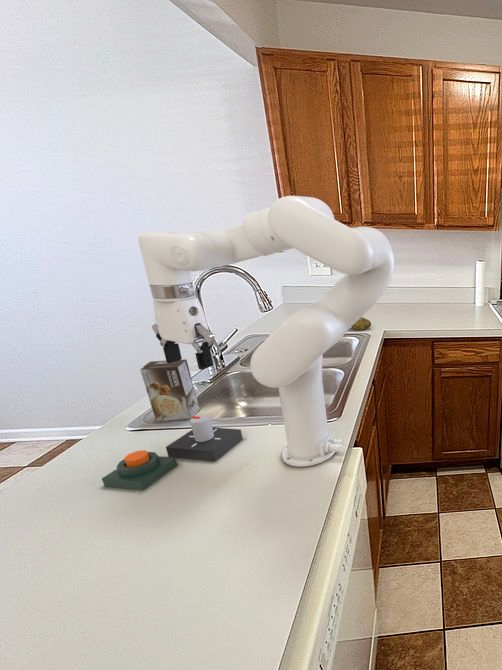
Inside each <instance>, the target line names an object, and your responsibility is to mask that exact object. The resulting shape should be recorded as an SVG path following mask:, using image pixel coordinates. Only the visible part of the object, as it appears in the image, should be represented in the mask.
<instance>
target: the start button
mask: <svg viewBox="0 0 502 670" xmlns="http://www.w3.org/2000/svg"><path fill="white" fill-rule="evenodd" d="M148 452H149V451H147V450H143V449H142V450H136V451H132V452H130V453H128V454H127V455H126V456H124V458H123V460H125V463H126V466H127V467H135V466H139V465H142V464H144V463H146V462H148V461H149V460H150V458H149V455H148Z"/></svg>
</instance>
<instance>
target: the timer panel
mask: <svg viewBox="0 0 502 670" xmlns="http://www.w3.org/2000/svg"><path fill="white" fill-rule="evenodd" d="M212 428H213V432H214V437H213V438H212V439H210V440H208V441H204V442H197V441H195V438H194V434H193V430H192V429H191V430H189V431H188V432H186V433H185V434H184V435H181V436H180V437H179V438H177V439H176V440H174V441H173V442H171V443H170V444H168V445H167V446H165V449H166V453H167V457H173V458H175V459H180V460H181V459H182V460H192V461H194V460H195V461H202V462H203V461H204V462H213V463H214V462H217V461H218V460H219V459H221V458H222V457H223V456H225V455H226V454H227V453H228V452H229V451H230V450H232V449H233V448H235V446H237V445H238V444H239V443H240V442H242V441H243V433H242V429H238V428H237V429H236V428H227V427H216V426H215V427H214V426H212Z"/></svg>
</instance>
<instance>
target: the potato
mask: <svg viewBox="0 0 502 670" xmlns="http://www.w3.org/2000/svg"><path fill="white" fill-rule="evenodd" d="M371 326H372V321H370V320H369V319H368V318H365V317H363V316H362V317H361V318H360V319H359V320H358V321H357V322H356V323H355V324H354V325H353V326H352V327H351V328H350V329H353V330H357V331H362V330H368V329H369V328H371Z"/></svg>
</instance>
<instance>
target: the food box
mask: <svg viewBox="0 0 502 670" xmlns="http://www.w3.org/2000/svg"><path fill="white" fill-rule="evenodd" d="M139 371H140V374H141V377H142V380H143V383H144V387H145V390H146V393H147V396H148V399H149V402H150V406H151V409H152V413H153V415H154V419H155V422H156V423H158V422H159V423H160V422H161V423H162V422H168V421H169V422H171V421H180V420H190V419H191V417H192V416H197V414H198V412H199V411H200V405H199V402H198V398H197V395H196V390H195V387H194V383H193V379H192V375H191V372H190V368H189V364H188V360H187V359H185V358H184V359H181V360H179V361H176V362H173V363H167V362H166V360H155V361H152V360H151V361H149V362H147V363H146V364H145V365H144V366H143V367H142V368H140V369H139Z"/></svg>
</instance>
